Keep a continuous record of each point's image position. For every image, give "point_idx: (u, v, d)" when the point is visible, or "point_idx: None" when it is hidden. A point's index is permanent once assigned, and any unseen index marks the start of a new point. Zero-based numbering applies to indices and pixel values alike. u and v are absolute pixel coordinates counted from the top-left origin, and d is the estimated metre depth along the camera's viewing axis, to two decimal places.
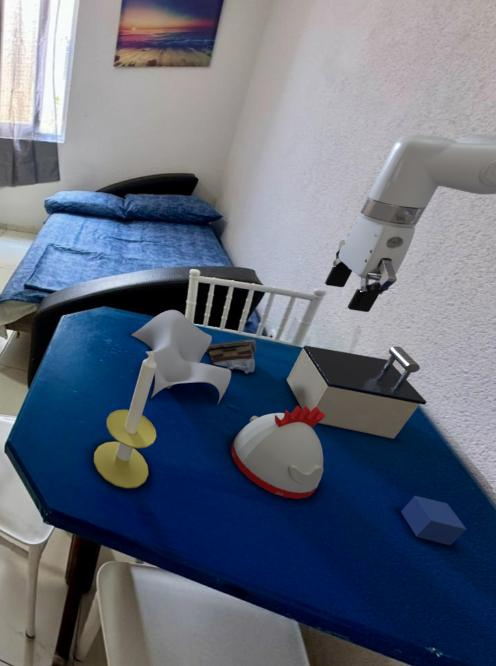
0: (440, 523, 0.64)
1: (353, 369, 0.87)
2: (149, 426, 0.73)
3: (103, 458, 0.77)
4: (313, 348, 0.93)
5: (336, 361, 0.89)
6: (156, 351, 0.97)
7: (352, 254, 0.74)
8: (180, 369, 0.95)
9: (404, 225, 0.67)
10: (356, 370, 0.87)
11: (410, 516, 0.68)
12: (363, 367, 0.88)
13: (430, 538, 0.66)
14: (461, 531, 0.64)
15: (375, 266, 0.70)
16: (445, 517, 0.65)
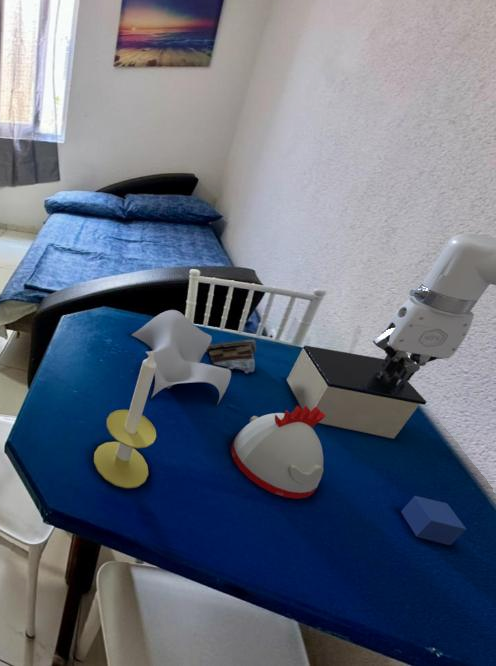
0: (440, 523, 0.64)
1: (353, 369, 0.87)
2: (149, 426, 0.73)
3: (103, 458, 0.77)
4: (313, 348, 0.93)
5: (336, 361, 0.89)
6: (156, 351, 0.97)
7: None
8: (180, 369, 0.95)
9: (419, 302, 0.77)
10: (356, 370, 0.87)
11: (410, 516, 0.68)
12: (363, 367, 0.88)
13: (430, 538, 0.66)
14: (461, 531, 0.64)
15: (386, 328, 0.82)
16: (445, 517, 0.65)
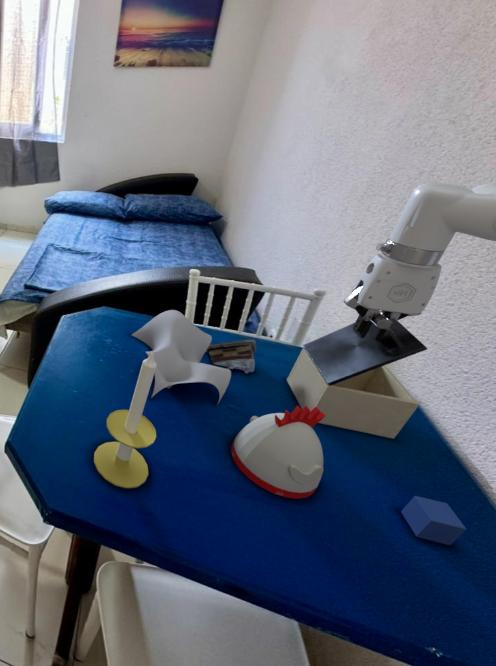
0: (440, 523, 0.64)
1: (349, 348, 0.85)
2: (149, 426, 0.73)
3: (103, 458, 0.77)
4: (311, 344, 0.93)
5: (333, 347, 0.88)
6: (156, 351, 0.97)
7: None
8: (180, 369, 0.95)
9: (386, 257, 0.75)
10: (352, 348, 0.85)
11: (410, 516, 0.68)
12: (359, 339, 0.85)
13: (430, 538, 0.66)
14: (461, 531, 0.64)
15: (355, 286, 0.80)
16: (445, 517, 0.65)
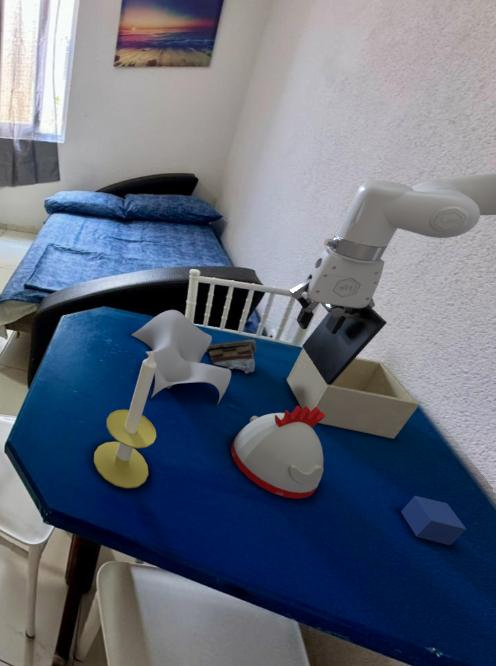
0: (440, 523, 0.64)
1: (333, 339, 0.85)
2: (149, 426, 0.73)
3: (103, 458, 0.77)
4: (307, 342, 0.93)
5: (322, 342, 0.88)
6: (156, 351, 0.97)
7: None
8: (180, 369, 0.95)
9: (333, 252, 0.77)
10: (335, 338, 0.85)
11: (410, 516, 0.68)
12: None
13: (430, 538, 0.66)
14: (461, 531, 0.64)
15: (305, 280, 0.83)
16: (445, 517, 0.65)
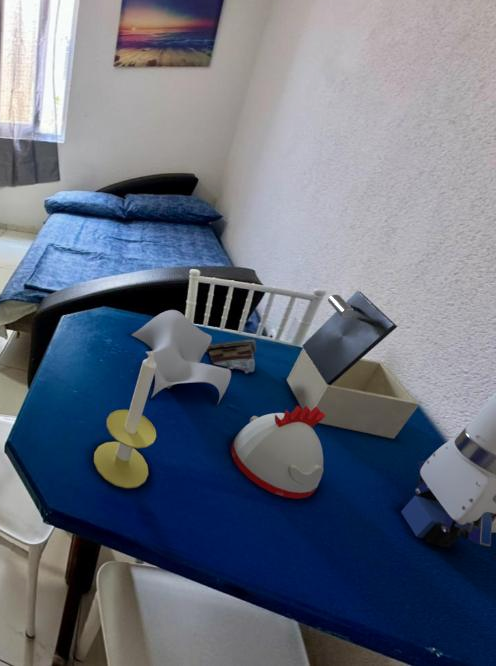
0: (440, 523, 0.64)
1: (337, 340, 0.85)
2: (149, 426, 0.73)
3: (103, 458, 0.77)
4: (308, 342, 0.93)
5: (325, 342, 0.88)
6: (156, 351, 0.97)
7: (442, 486, 0.63)
8: (180, 369, 0.95)
9: None
10: (339, 339, 0.85)
11: (410, 516, 0.68)
12: (343, 328, 0.85)
13: None
14: None
15: (476, 518, 0.59)
16: None
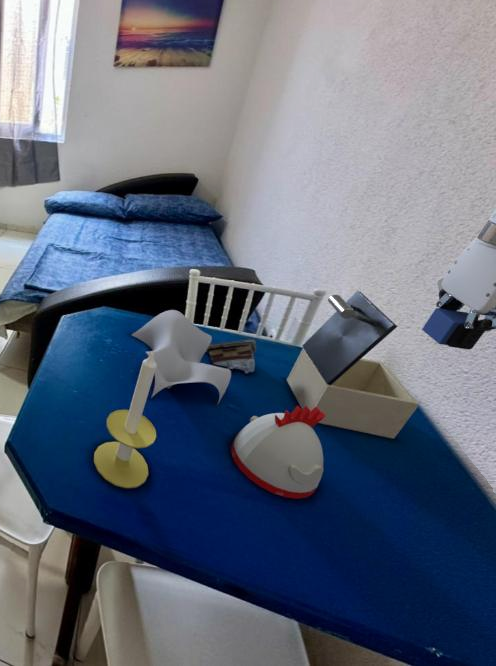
0: (462, 323, 0.66)
1: (337, 340, 0.85)
2: (149, 426, 0.73)
3: (103, 458, 0.77)
4: (308, 342, 0.93)
5: (325, 342, 0.88)
6: (156, 351, 0.97)
7: (465, 285, 0.65)
8: (180, 369, 0.95)
9: None
10: (339, 339, 0.85)
11: (431, 328, 0.70)
12: (343, 328, 0.85)
13: None
14: None
15: None
16: None
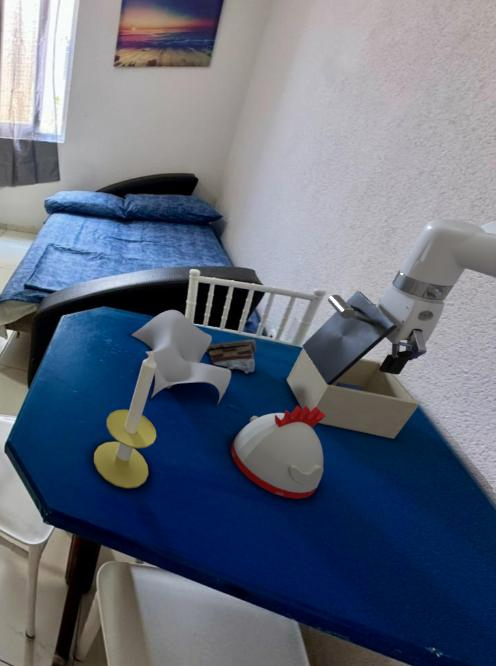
0: None
1: (337, 340, 0.85)
2: (149, 426, 0.73)
3: (103, 458, 0.77)
4: (308, 342, 0.93)
5: (325, 342, 0.88)
6: (156, 351, 0.97)
7: None
8: (180, 369, 0.95)
9: (434, 300, 0.73)
10: (339, 339, 0.85)
11: None
12: (343, 328, 0.85)
13: None
14: None
15: (407, 335, 0.76)
16: None
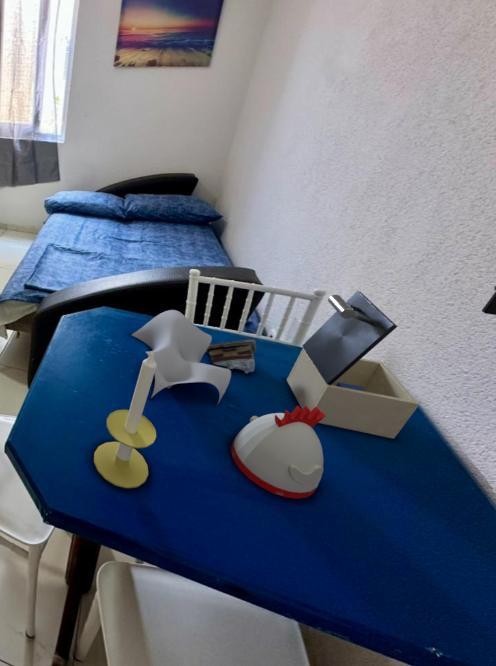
0: None
1: (337, 340, 0.85)
2: (149, 426, 0.73)
3: (103, 458, 0.77)
4: (308, 342, 0.93)
5: (325, 342, 0.88)
6: (156, 351, 0.97)
7: None
8: (180, 369, 0.95)
9: None
10: (339, 339, 0.85)
11: None
12: (343, 328, 0.85)
13: None
14: None
15: None
16: None
